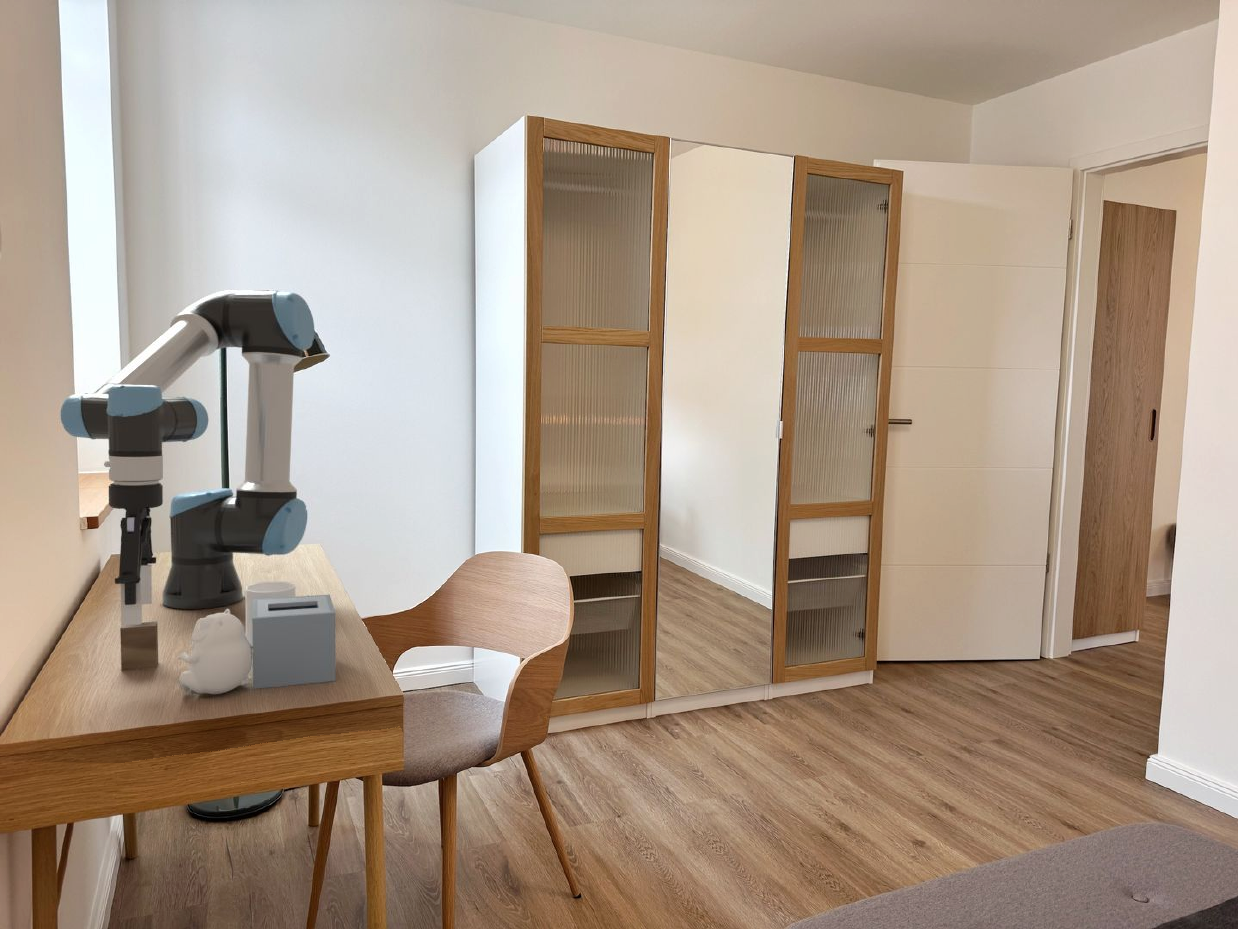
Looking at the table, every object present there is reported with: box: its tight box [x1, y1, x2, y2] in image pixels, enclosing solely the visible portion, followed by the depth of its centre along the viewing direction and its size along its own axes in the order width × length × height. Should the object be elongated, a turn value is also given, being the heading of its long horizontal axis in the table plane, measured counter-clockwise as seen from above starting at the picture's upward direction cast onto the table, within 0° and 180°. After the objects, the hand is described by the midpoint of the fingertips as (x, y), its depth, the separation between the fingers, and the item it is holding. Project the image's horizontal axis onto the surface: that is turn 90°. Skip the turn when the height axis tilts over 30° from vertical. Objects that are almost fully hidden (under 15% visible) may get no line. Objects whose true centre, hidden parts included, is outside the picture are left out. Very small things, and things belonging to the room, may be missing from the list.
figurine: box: [177, 608, 253, 695], centre depth 131 cm, size 10×10×12 cm
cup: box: [244, 580, 296, 648], centre depth 157 cm, size 8×12×10 cm
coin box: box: [252, 594, 336, 690], centre depth 140 cm, size 12×12×11 cm
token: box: [119, 621, 159, 672], centre depth 141 cm, size 2×5×7 cm, turn 112°
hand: (137, 613), depth 140 cm, fingers open, 13 cm apart
